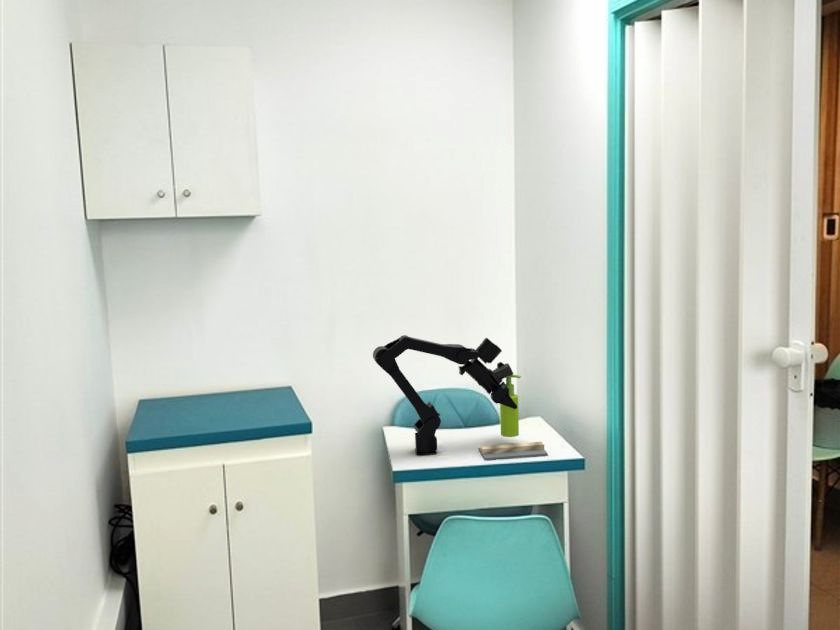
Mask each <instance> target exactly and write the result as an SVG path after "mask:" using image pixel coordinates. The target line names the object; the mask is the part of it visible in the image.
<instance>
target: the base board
mask: <svg viewBox="0 0 840 630" xmlns="http://www.w3.org/2000/svg"><path fill="white" fill-rule="evenodd" d="M477 449H478V450H479V451H478V452H479V453H481V451H480V447H478V448H477ZM480 455H481V457H482V458H483V461H485V460H487V461H496V459H500V460H510V459H523V458H524V459H525V458H526V459H527V458H537V457H538V458H539V457H548V455H549V454H548V452H547V451H546V450H545V449H544V450H536V451H523V452H510V453H497V454H484V455H483V454H482V453H481V454H480Z"/></svg>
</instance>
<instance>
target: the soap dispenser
mask: <svg viewBox="0 0 840 630" xmlns="http://www.w3.org/2000/svg"><path fill="white" fill-rule="evenodd" d="M521 377H522V375H519V374H513V375H511V376H508V377H506V378H505V385H506V386H507V387H508V388H509V396H510V397H511V398H512V400H513V401H514V403H515V404H516V405H517V408H516V409H513V408H511V407H508V406H505V405H502V404H500V405H499V406H500V411H499V412H500V413H499V414H500V435H501V437H506V438H513V437H514V438H515V437H518V436H519V435H520V434H519V433H520V431H519V430H520V429H519V428H520V427H519V423H520V422H519V395H518V394H515V384H513V383H512V378H515V379H520V378H521Z"/></svg>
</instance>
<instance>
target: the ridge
mask: <svg viewBox="0 0 840 630" xmlns="http://www.w3.org/2000/svg"><path fill="white" fill-rule="evenodd" d="M479 448H480V451H481V453H482V454H483V455H484V454H497V453H510V452H523V451H536V450H545V444H544V442H542V441H532V442H520V443H505V444H495V445H494V444H493V445H492V444H491V445H480V447H479Z"/></svg>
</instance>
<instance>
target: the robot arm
mask: <svg viewBox="0 0 840 630" xmlns="http://www.w3.org/2000/svg"><path fill="white" fill-rule="evenodd" d="M407 350H411V351H416V352H420V353H423V354H424V353H425V354H430V355H434V356H438V357H441V358H444V359H446V360H449V361H450V362H453V363H455V364H458V365H459V366H458V370H459V371H458V374H459V375H460V376H463V375H464V374H465V373H466V374H467V375H468V376H469V377H471V378H472V379H473V381H475V382H476V383H477V384H478V386H479V387H481V388H482V389H484V390H485V391H486V393H487V394H488V395H490V399H491V400H492V402H493V403H494V404H502V405H505V406H508V407H511V408H513V409H516V408H517V405H516V404H515V403H514V401H513V400H512V398H511V397H510V396H509V388H508V387H507V386H506V385H505V384H506V382H504V381H503V379H506V377H508V376H511V375H514V372H513V370H512V368H511V365H510V364H509V363H507V362H506V363H503V362H502V361H500V362H498V363H497V365H496V368H495V369H494V370H492V369H491V368H488V367H487V366H486V364H492V362H494V360H495V359H496V358H497V357H498V356H499V355H500V354H501V353H502V351H503V350H502V349H501V348H500V346H498V345H497V344H495V343H494V342H493V341H491V340H490V339H489V338H488V337H485V338H484V339H483V341H482V342H481V343H479V345H478V346H477V348H476V349H475V348H472V347H471V348H470V347H469V348H468V347H466V346H464V345H462V344H458V343H457V344H455V343H454V344H453V343H445V344H443V343H438V342H433V341H429V340H425V339H420V338H415V337H412V336H409V335H407V334H406V335H405V334H404V335H401V336H400V337H398V338H397V339H395V340H393V341H391V342H389V343H387V344H385V345H383V346H382V345H380V346H378V347H375V349H374V350H373V353H372V358H373V361H374V362H375V363H376V364H377V365H378V366H379V367H380V368H381V369H382V370H383V371H384V372H386V374H387V375H389V377H391V379H392V380H393V382H394V383H395V384H396V385H397V387H398V388H399V390H400V391H401V392H402V394H404V396H405V397H406V399H407V400H408V401H409V403H410V404H411V405H412V406H413V409H414V411H415V412H416V413H415V414H416V415H417V417H418V420H416V421H415V423H414V424H413V428H414V429H415V431H416V432H414V444H415V448H414V451H415V455H417V456H423V455H437V453H438V452H437V451H438V438H437V436H436V432H437V430H438V429H439V428H440V426H441V423H442V420H441V418H440V416H441V413H440V412H439V411H438V410H437V409H436V408H435V406H434V404H433V403H432V402H431V401H428V402H427V403H426V402H425V401H424V400H423V399H422V397H420V394H419V393H418V392H417V390H415V388H414V387H413V386H412V385H411V383H410V381H409V380H408V378H407V377H406V376H405V375H404V373H403V372H402V370H401V369H400V367H399V365H398V362H397V360H396V359H397V358H398V357H399V356H400V355H402V354H403V353H404V352H405V351H407ZM482 362H483V363H482ZM460 365H462V366H460Z"/></svg>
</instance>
